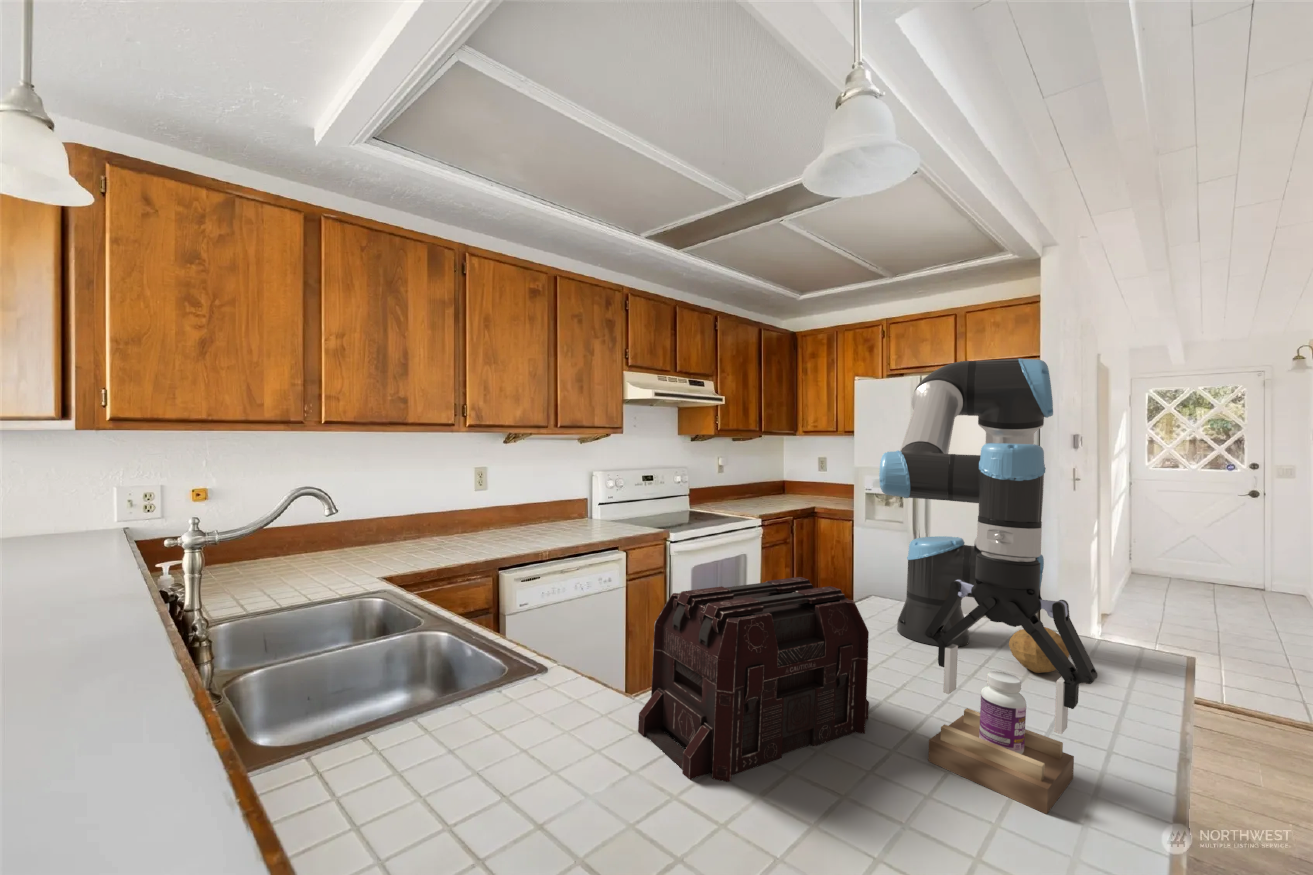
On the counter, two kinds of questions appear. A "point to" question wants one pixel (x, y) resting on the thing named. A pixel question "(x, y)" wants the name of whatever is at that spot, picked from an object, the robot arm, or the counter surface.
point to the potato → (1034, 651)
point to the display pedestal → (1004, 762)
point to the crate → (755, 674)
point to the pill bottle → (1003, 712)
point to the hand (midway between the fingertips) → (1001, 709)
